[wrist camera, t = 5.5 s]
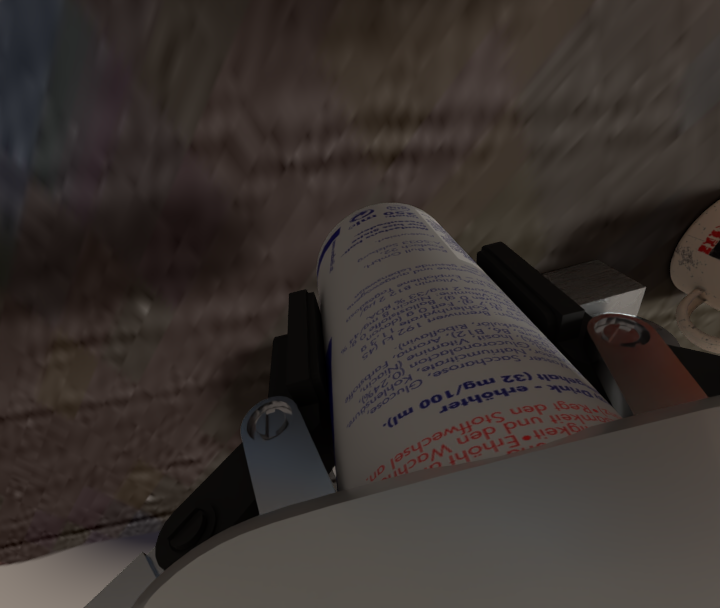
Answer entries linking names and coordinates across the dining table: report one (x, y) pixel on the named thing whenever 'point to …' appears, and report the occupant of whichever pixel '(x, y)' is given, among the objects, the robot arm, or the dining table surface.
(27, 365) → the dining table surface
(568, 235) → the dining table surface
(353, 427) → the energy drink
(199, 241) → the dining table surface
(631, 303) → the white desk organizer
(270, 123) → the dining table surface
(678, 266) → the teacup with lid
